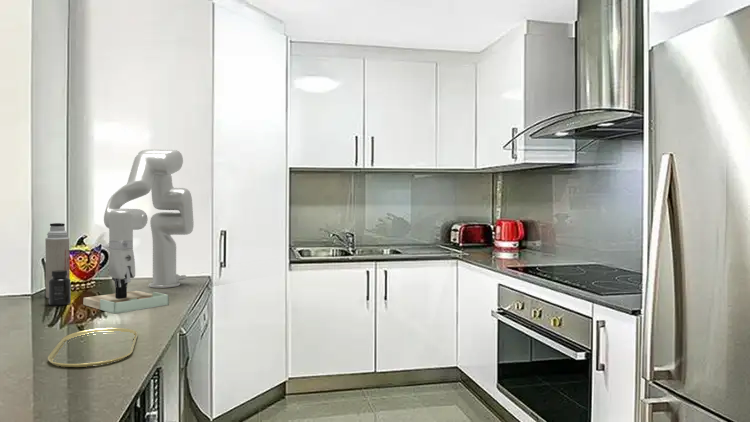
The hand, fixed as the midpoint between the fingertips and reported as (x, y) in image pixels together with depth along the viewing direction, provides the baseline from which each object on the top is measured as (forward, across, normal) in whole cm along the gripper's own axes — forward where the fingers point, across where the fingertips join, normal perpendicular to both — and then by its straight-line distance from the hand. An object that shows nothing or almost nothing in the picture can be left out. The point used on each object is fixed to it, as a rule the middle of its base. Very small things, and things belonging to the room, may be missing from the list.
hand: (121, 298), depth 196 cm
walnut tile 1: (+1, -4, -8) cm, 8 cm away
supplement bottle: (+4, +22, +11) cm, 25 cm away
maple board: (+4, +9, -4) cm, 11 cm away
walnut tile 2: (+1, -4, +1) cm, 4 cm away
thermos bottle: (+4, +38, +5) cm, 39 cm away
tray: (+4, -2, -4) cm, 6 cm away
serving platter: (+4, -43, +29) cm, 52 cm away
